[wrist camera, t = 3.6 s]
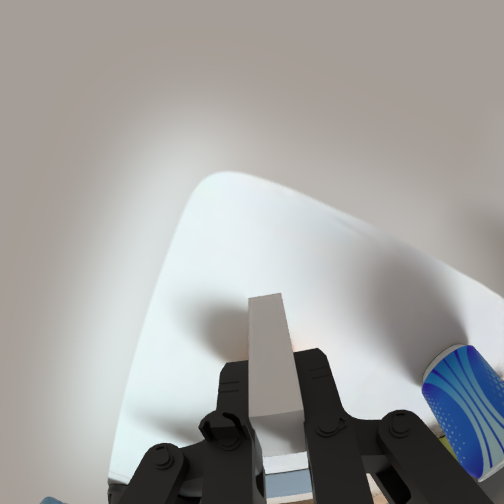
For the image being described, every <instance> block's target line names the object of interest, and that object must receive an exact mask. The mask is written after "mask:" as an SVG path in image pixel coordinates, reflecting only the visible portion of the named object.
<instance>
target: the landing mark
mask: <svg viewBox="0 0 504 504" xmlns="http://www.w3.org/2000/svg"><path fill="white" fill-rule="evenodd" d="M265 480H266V498H273V497H282V496H290V495H297V494H303V493H309V492H312V486H311V479H310V473H309V469H304V470H298V471H291V472H284V473H277V474H268V475H265Z"/></svg>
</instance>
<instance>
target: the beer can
mask: <svg viewBox="0 0 504 504" xmlns="http://www.w3.org/2000/svg"><path fill="white" fill-rule="evenodd" d="M422 394H423V396H424V398H425V399H426V401H427V403H428V405H429V406H430V408H431V410H432V412H433V414H434V415H435V417H436V419H437V421H438V423H439V424H440V426H441V428H442V430H443V432H444V434H445V436H446V438H447V439H448V441H449V443H450V445H451V447H452V449H453V451H454V453H455V455H456V457H457V459H458V461H459V463H460V465H461V466H462V467H463V468H464V469H465V470H466V472H467V473H468V474H469V475H471V476H474V477H476V478H478V481H479V482H481V481H483V480H484V479H486V478H488V477H489V476H491V475H492V474H494V473H495V472H496V471H497V470H499V469H500V468H501V467H503V466H504V382H503V381H502V380H501V378H500V377H499V376H498V375H497V373H496V372H495V371H494V370H493V369H492V367H491V366H490V365H489V364H488V363H487V361H486V360H485V359H484V358H483V357H482V356H481V354H480V353H479V352H478V351H477V350H476V349H475V348H474V347H473V346H471V345H462V344H457V345H453V346H451V347H449V348H447V349H446V350H444V351H443V352H441V353H440V354H439V355H438V356H437V357H436V358H435V359H434V360H433V361H432V362H431V363H430V365H429V366H428V368H427V369H426V371H425V373H424V376H423V385H422Z"/></svg>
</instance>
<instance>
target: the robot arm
mask: <svg viewBox="0 0 504 504" xmlns="http://www.w3.org/2000/svg"><path fill="white" fill-rule="evenodd" d="M248 328H249V360H246V361H238V362H229V363H226V364H225V366H224V367H223V369H222V371H221V372H220V379H219V388H218V398H217V408H216V410H215V411H213V412H211V413H209V414H207V415H206V416H205V417H204V418H203V419H202V420H201V422H200V425H199V427H198V428H199V430H200V431H201V433H202V435H203V436H204V438H205V440H203V441H202V442H199V443H197V444H193V445H190V446H186V447H182V448H178V447H177V446H175V445H173V444H171V443H160V444H156V445H154V446H153V447H151V448H149V450H148V451H147V452H146V453H145V455H144V457H143V458H142V460H141V462H140V464H139V466H138V468H137V469H136V471H135V473H134V475H133V477H132V479H131V480H130V482H129V484H128V486H126V485H120V484H111V485H110V486H109V489H108V502H109V504H267V501H266V480H265V470H264V466H263V459H262V454H263V457H270V456H278V455H286V454H293V453H299V452H305V451H307V457H308V467H309V473H310V479H311V486H312V493H313V500H314V504H374V502H373V498H372V494H371V490H370V487H369V483H368V479H367V476H366V473H370V475H371V476H372V478H373V479H374V481H375V482H376V484H377V486H378V487H379V489H380V490H381V492H382V493H383V495H384V496H385V498H386V499H387V501H388V502H389V504H494V503H493V502H492V501H491V500H490V499H489V498H488V496H487V495H486V494H485V493H484V492H483V490H482V489H481V488H480V487H479V486H478V484H477V483H476V482H475V481H474V480H473V479H472V477H471V476H470V475H469V474H468V473H467V472H466V470H465V469H464V468H463V467H462V466H461V465H460V463H459V462H458V461H457V460H456V459H455V458H454V456H453V455H452V454H451V453H450V452H449V451H448V450H447V448H446V447H445V446H444V445H443V444H442V443H441V442H440V440H439V439H438V438H437V437H436V436H435V435H434V434H433V432H432V431H431V430H430V429H429V428H428V427H427V426H426V424H425V423H424V422H423V421H422V420H421V419H420V418H419V417H418V416H417V415H416V414H415V413H413V412H411V411H408V410H395V411H393V412H390V413H388V414H387V415H386V416H384V417H383V418H382V420H362V419H357V418H354V417H352V416H350V415H349V414H348V413H347V412H346V411H345V410H344V408H343V406H342V404H341V400H340V397H339V394H338V391H337V387H336V384H335V381H334V378H333V376H332V372H331V369H330V365H329V362H328V359H327V356H326V355H325V354H324V353H323V352H322V351H321V350H320V349H319V348H315V349H309V350H304V351H299V352H293V350H292V345H291V340H290V335H289V330H288V325H287V320H286V315H285V310H284V305H283V300H282V295H281V293H277V294H271V295H265V296H259V297H253V298H248ZM40 504H66V503H63V502H61V501H59V500H57V499H55V498H53V497H46V498H44V499H43V500H42V502H41V503H40Z"/></svg>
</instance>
